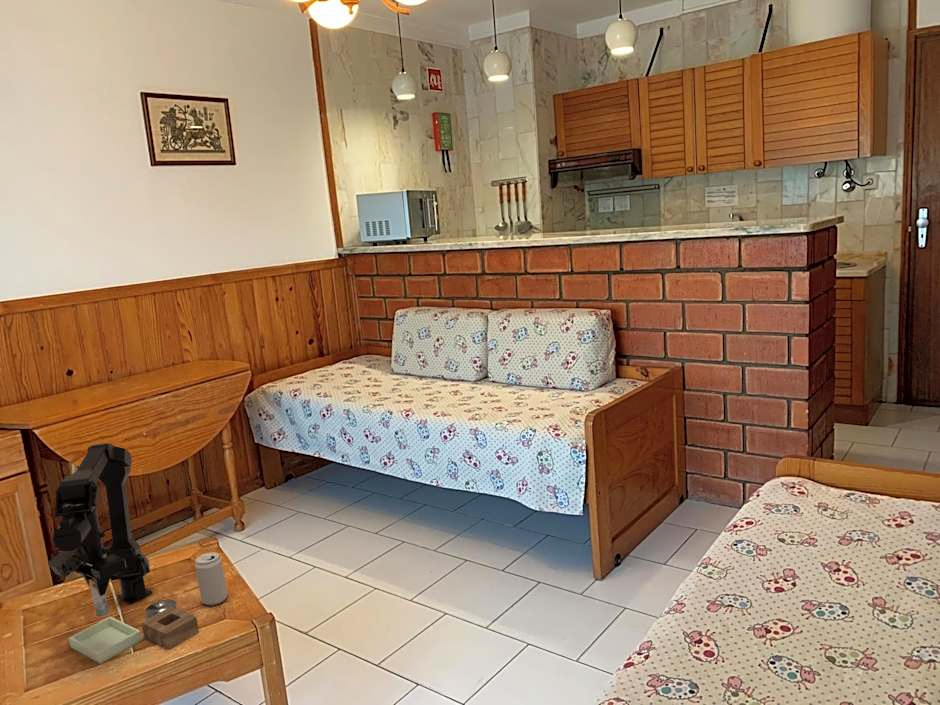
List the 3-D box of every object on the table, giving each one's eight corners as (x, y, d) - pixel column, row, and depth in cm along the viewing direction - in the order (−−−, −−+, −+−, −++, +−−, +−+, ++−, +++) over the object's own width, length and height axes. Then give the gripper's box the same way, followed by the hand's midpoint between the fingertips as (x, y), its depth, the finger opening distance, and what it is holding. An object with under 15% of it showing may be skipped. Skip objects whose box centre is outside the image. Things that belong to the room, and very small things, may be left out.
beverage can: (219, 607, 187) (212, 563, 184) (196, 606, 188) (189, 563, 186) (232, 594, 193) (225, 551, 190) (210, 593, 194) (202, 551, 192)
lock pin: (93, 614, 173) (86, 579, 171) (105, 608, 175) (97, 573, 173) (100, 617, 171) (92, 582, 170) (111, 611, 174) (104, 576, 172)
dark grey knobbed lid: (141, 618, 185) (139, 607, 184) (167, 605, 190) (165, 593, 189) (157, 626, 181) (155, 614, 180) (183, 612, 186) (181, 600, 185)
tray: (70, 647, 175) (68, 638, 174) (112, 625, 183) (110, 616, 182) (100, 664, 167) (98, 654, 167) (142, 640, 175) (140, 630, 175)
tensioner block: (144, 637, 176) (141, 622, 175) (174, 620, 182) (171, 605, 182) (168, 649, 170) (165, 634, 170) (198, 631, 177) (196, 616, 176)
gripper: (29, 538, 168) (43, 600, 171) (72, 555, 157) (86, 621, 161) (77, 518, 177) (90, 578, 180) (121, 533, 166) (134, 596, 169)
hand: (98, 593), depth 172 cm, fingers closed on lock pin, 3 cm apart
